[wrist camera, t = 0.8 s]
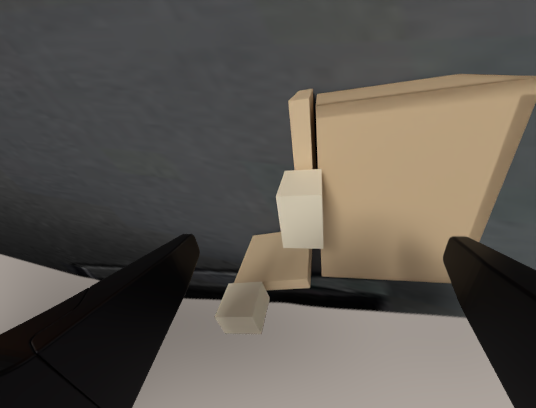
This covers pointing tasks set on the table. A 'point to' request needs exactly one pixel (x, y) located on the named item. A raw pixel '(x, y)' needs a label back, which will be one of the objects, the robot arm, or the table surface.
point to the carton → (414, 169)
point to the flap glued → (301, 181)
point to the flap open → (262, 282)
